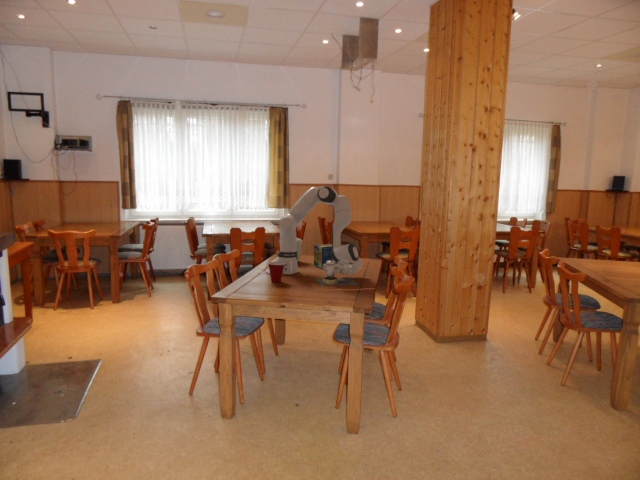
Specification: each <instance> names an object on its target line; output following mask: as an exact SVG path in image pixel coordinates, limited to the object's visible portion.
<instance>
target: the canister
mask: <svg viewBox="0 0 640 480" xmlns="http://www.w3.org/2000/svg"><path fill="white" fill-rule="evenodd" d="M296 238H297V253H298V258H297V263H299V261H300V260H301V254H302V248H303V247H302V245H303V243H304V240H303V239H301V238H298V237H296ZM278 242H279V245H280V246H279V248H280V249H281V240H280V239H279V241H278Z"/></svg>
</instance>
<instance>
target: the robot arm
mask: <svg viewBox="0 0 640 480" xmlns="http://www.w3.org/2000/svg"><path fill="white" fill-rule="evenodd" d="M350 201H351V200H350V198H349V197H348V196H347V195H344V194H340V193H339V192H338V191H337V189H334V187H331V186H329V185H323V186H320V187H316V186H312V187H310V188H309V189H307V190H306V191H305V192H304V193H303V194H302V196H300V198H299V199H298V200H296V202H294V204H293V205H292V207H291V208H290V209H289V211H288V212H287V213H286V214H285V215H283V216H281V218H280V219H279V220H278V227H279V228H278V229H279V237H280V239H279V240H281V248H280V250H277V251H276V255H277V257H275V258H274V259H273V260H271V261H270V262H281V263H285V265H284V268H283V274H282V275H293V274H297V273H299V272H300V271H299V266H298V262H297V258H298V253H297V238H298V237H297V227H298V226H299V225H300V224H301V223H302V221H304V219H305V218H306V217H307V215H309V213H310V212H311V211H313V209H314V208H315V207H316V206H317V205H318V204H319V203H320V202H321V203H323V204H325V205H328V206H332V207H333V210H334V211H333V212H334V221H333V223H332V224H331V225H332V226H331V244H332V249H331V257H332V259H333V260H334V261H335V262H338V263H337V264H335V269H333V272H334V273H335V274H336V273H339V274H340V275H355V273H356V272H358V271H360V270H361V269H362V268H363V266H364V265H363V264H364V263H363V260H362V258H361V257H360V254H359V250H358V247H357V246H356V245H355V244H353V243H348V244H344V245H342V244H341V240H342V239H341V235H342V232H343V231H344V230H345V228H347V227H348V226H349V225H350V224H351V222H353V211H352V210H353V209H352V205H351V202H350ZM322 270H323V271H324V272H326V264H323V268H322ZM265 274H267V275H268V274H269V275H270V270H269V268H267V269H265Z"/></svg>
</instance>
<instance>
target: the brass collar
mask: <svg viewBox="0 0 640 480" xmlns="http://www.w3.org/2000/svg"><path fill="white" fill-rule="evenodd" d="M321 278H322V283H323V284H325V285H335V286H337V285H336V284H338V279H339V278H338V277H337V276H334V280H328V279H326V276H323V277H321Z"/></svg>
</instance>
